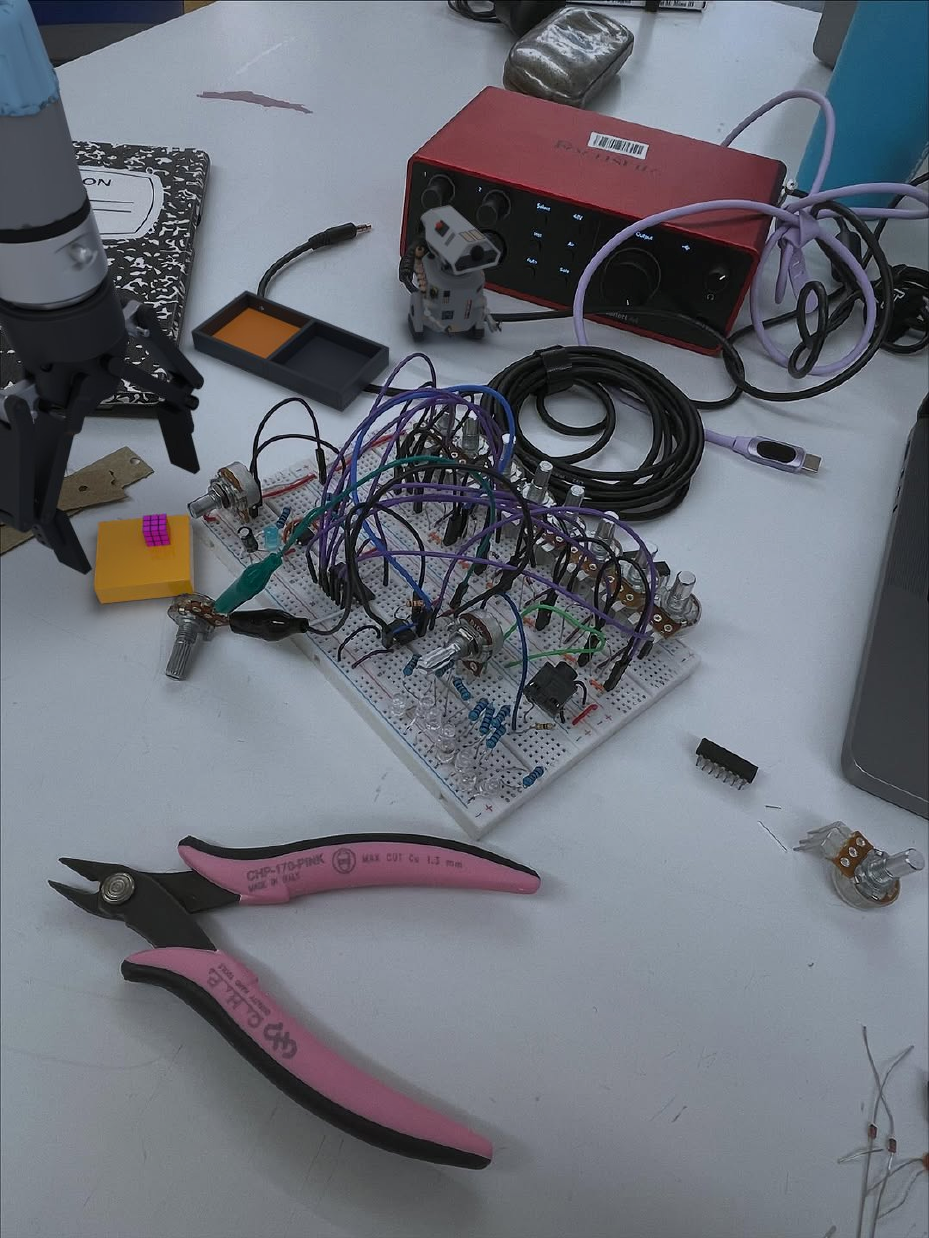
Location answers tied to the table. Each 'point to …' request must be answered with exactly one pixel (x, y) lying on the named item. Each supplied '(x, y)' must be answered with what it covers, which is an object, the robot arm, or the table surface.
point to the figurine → (452, 276)
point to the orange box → (144, 558)
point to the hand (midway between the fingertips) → (133, 513)
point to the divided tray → (292, 349)
